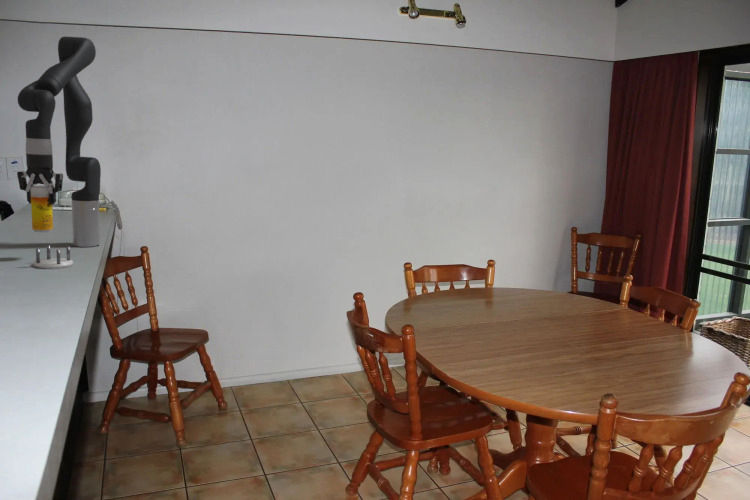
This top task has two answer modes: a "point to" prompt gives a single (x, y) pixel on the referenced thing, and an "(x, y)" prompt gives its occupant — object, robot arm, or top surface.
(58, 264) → the pin tray
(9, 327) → the top surface
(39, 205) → the beer can
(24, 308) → the top surface
